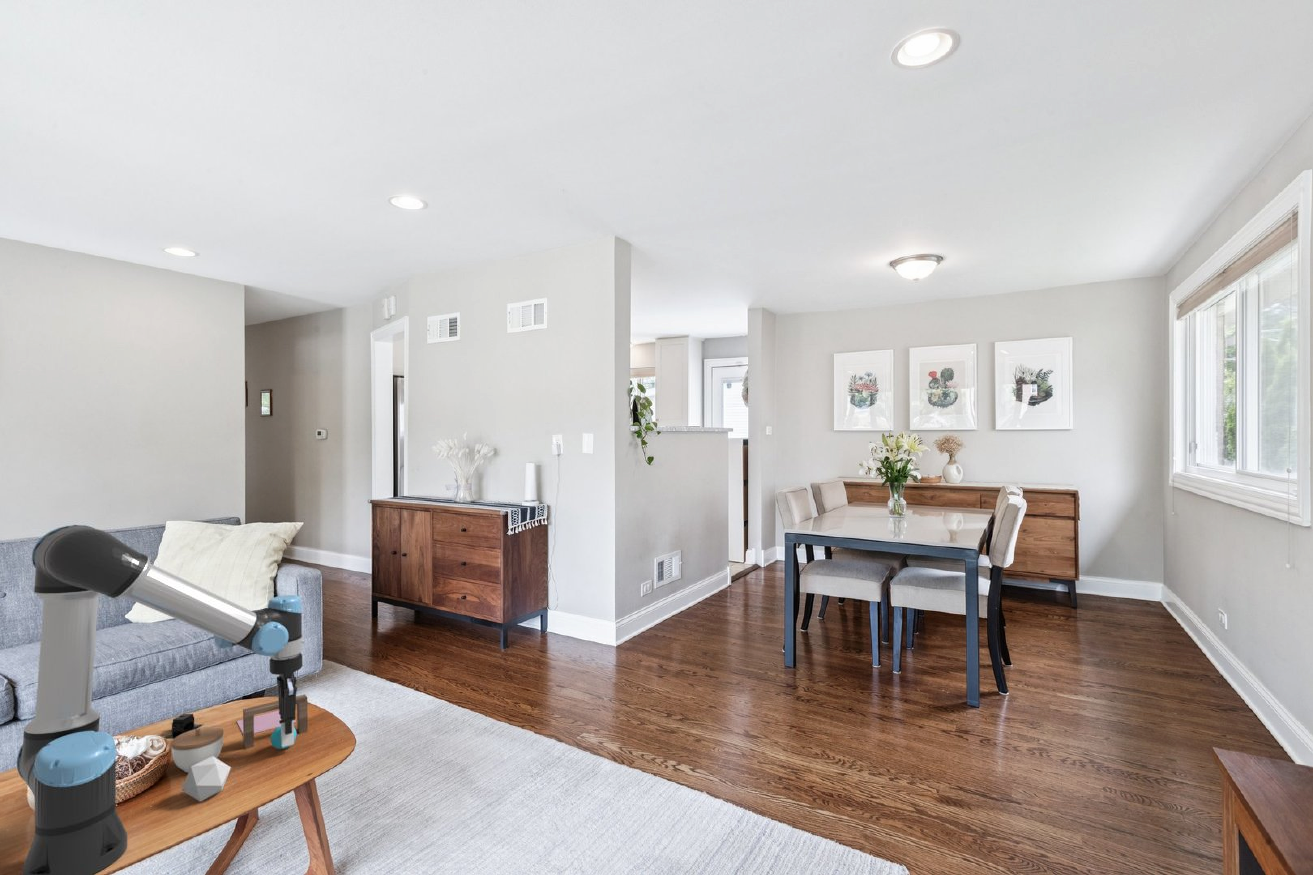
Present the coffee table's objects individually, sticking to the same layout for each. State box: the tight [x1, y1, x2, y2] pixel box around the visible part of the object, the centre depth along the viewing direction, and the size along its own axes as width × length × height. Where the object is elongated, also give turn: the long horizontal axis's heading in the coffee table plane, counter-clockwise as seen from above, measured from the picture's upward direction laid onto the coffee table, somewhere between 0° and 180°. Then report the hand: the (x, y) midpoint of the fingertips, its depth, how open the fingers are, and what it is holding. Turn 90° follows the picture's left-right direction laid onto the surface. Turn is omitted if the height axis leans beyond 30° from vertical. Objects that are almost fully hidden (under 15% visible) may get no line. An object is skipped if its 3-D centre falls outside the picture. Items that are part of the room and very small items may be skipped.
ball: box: [270, 726, 297, 750], centre depth 169 cm, size 6×6×6 cm
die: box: [181, 756, 232, 803], centre depth 146 cm, size 8×9×10 cm
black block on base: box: [164, 713, 205, 740], centre depth 180 cm, size 13×8×5 cm, turn 178°
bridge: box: [242, 693, 309, 750], centre depth 175 cm, size 3×15×10 cm, turn 131°
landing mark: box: [236, 709, 297, 735], centre depth 185 cm, size 13×13×1 cm
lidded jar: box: [170, 726, 224, 773], centre depth 160 cm, size 11×11×9 cm
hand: (287, 744), depth 166 cm, fingers closed
